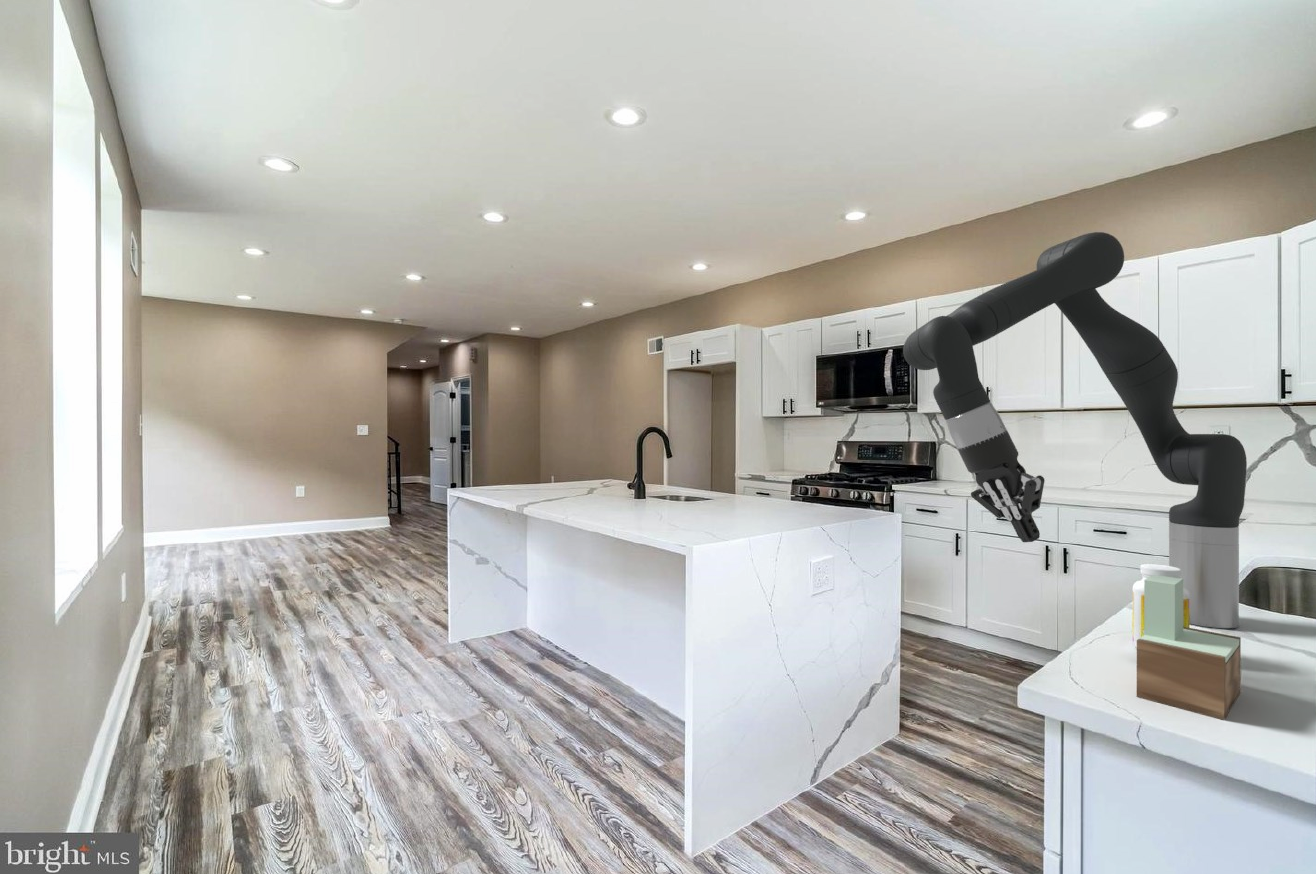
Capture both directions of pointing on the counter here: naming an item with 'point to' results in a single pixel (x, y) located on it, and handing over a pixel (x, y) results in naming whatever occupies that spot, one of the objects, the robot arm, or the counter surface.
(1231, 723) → the counter surface
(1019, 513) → the robot arm
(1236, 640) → the sage lid
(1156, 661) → the walnut box
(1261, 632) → the counter surface
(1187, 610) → the supplement bottle
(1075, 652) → the counter surface
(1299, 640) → the counter surface
